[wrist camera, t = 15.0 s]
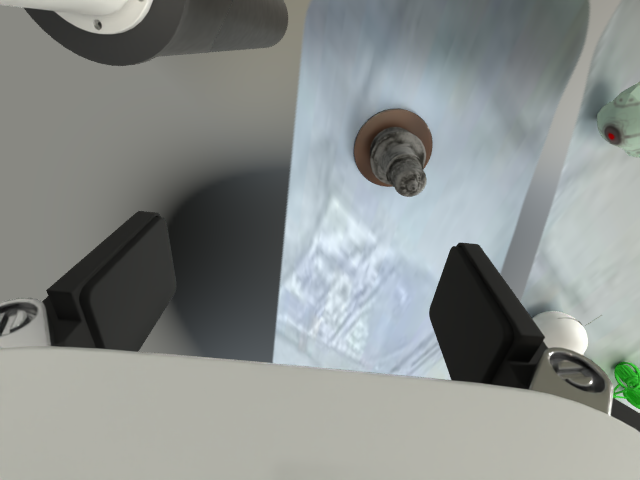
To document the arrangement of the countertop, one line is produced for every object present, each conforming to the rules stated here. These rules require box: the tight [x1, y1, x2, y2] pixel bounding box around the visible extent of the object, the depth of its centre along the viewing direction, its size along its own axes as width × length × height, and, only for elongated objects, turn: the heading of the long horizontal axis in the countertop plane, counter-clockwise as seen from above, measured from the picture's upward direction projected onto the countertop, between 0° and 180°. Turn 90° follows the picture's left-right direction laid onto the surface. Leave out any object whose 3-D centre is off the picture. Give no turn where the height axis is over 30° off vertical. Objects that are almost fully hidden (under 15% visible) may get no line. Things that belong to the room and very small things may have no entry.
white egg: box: [532, 311, 602, 355], centre depth 48 cm, size 10×7×7 cm
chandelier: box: [613, 362, 640, 409], centre depth 56 cm, size 15×15×7 cm
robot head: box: [597, 82, 640, 158], centre depth 34 cm, size 8×4×7 cm, turn 31°
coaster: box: [354, 109, 432, 187], centre depth 39 cm, size 9×9×1 cm
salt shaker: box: [370, 127, 426, 197], centre depth 33 cm, size 6×6×12 cm
